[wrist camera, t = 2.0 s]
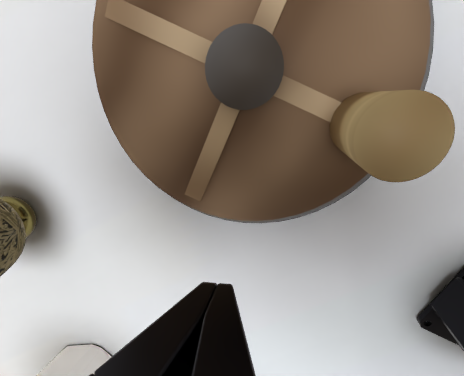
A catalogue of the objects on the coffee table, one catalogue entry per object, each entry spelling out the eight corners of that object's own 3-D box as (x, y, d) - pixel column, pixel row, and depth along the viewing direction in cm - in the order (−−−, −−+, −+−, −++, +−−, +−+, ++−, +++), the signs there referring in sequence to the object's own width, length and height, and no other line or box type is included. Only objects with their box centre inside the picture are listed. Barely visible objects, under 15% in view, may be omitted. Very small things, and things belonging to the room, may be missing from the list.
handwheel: (83, 144, 17) (-10, 167, 12) (158, -190, 12) (50, -454, 6) (309, 251, 17) (325, 325, 12) (494, -34, 12) (697, -155, 6)
